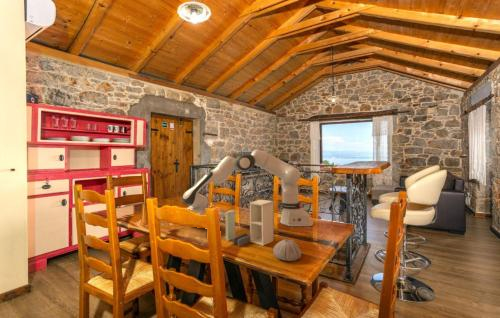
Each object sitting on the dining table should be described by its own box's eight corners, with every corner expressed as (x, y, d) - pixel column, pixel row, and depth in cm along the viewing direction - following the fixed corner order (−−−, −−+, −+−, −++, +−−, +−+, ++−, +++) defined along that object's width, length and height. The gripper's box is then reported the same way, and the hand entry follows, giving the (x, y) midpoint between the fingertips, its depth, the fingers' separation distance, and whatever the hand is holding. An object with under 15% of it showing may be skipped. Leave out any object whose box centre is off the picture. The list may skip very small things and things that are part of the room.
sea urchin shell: (284, 249, 129) (284, 233, 129) (307, 256, 120) (307, 240, 119) (267, 257, 119) (267, 240, 119) (291, 266, 110) (291, 248, 110)
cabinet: (232, 244, 136) (232, 203, 135) (255, 235, 150) (254, 198, 149) (252, 250, 127) (251, 207, 126) (274, 240, 141) (273, 201, 141)
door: (224, 239, 143) (224, 211, 143) (232, 236, 148) (232, 209, 148) (228, 240, 141) (227, 212, 141) (236, 237, 146) (235, 210, 146)
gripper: (188, 215, 152) (203, 219, 143) (214, 208, 168) (229, 212, 159) (188, 225, 152) (203, 230, 144) (214, 218, 168) (229, 222, 159)
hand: (217, 220), depth 151 cm, fingers open, 8 cm apart
